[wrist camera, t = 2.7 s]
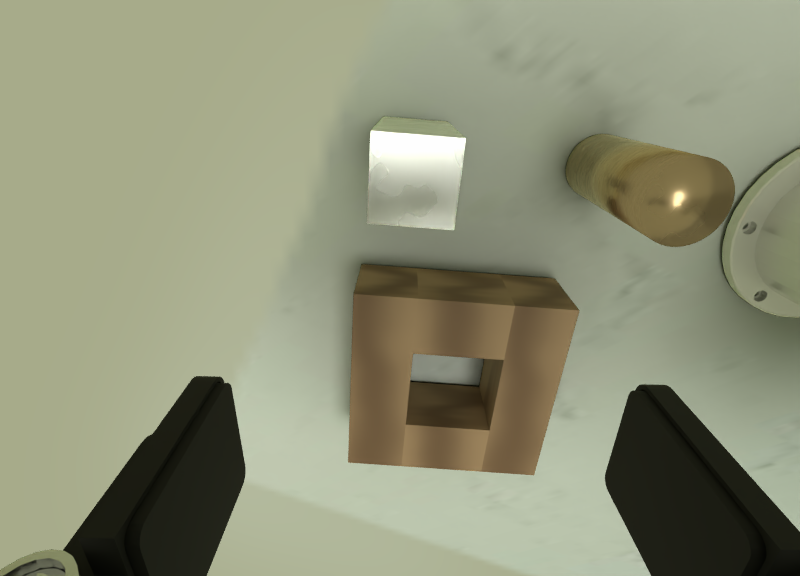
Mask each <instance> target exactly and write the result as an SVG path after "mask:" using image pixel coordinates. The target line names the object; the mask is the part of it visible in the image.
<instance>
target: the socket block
mask: <svg viewBox="0 0 800 576" xmlns="http://www.w3.org/2000/svg"><path fill="white" fill-rule="evenodd" d="M578 314H579V310H578V308H577V307H576V306H575V304H574V303H573V302H572V300H571V299H570V298H569V296H568V295H567V294H566V293H565V291H564V290H563V289H562V287H561V286H560V285H559V283H558V282H557V281H556V279H554V278H541V277H527V276H514V275H500V274H487V273H474V272H460V271H447V270H434V269H420V268H407V267H394V266H380V265H367V264H361V268H360V272H359V276H358V279H357V283H356V287H355V290H354V296H353V327H352V359H351V390H350V422H349V453H348V462H350V463H364V464H379V465H394V466H408V467H423V468H437V469H452V470H466V471H481V472H496V473H510V474H525V475H534V473H535V470H536V466H537V462H538V459H539V455H540V451H541V448H542V444H543V441H544V437H545V433H546V430H547V426H548V422H549V419H550V415H551V412H552V408H553V404H554V401H555V397H556V394H557V390H558V386H559V383H560V379H561V375H562V372H563V368H564V365H565V361H566V357H567V354H568V350H569V346H570V343H571V339H572V336H573V332H574V328H575V325H576V321H577V317H578ZM413 354H426V355H440V356H454V357H468V358H482V359H484V364H483V369H482V375H481V380H480V386H479V387H474V386H460V385H446V384H432V383H418V382H410V377H411V367H412V357H413Z"/></svg>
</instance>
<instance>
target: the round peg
mask: <svg viewBox="0 0 800 576" xmlns="http://www.w3.org/2000/svg"><path fill="white" fill-rule="evenodd" d="M566 177H567V181H568V183H569V185H570V187H571V188H572V189H573V190H574V191H575V192H576V193H578V194H579V195H581V196H583V197H584V198H586V199H587V200H589V201H591V202H592V203H594V204H595V205H597V206H599V207H600V208H602V209H603V210H605V211H607V212H608V213H610V214H611V215H613V216H615V217H616V218H618V219H619V220H621V221H623V222H624V223H626V224H627V225H629V226H631V227H632V228H634V229H636V230H637V231H639V232H640V233H642V234H644V235H645V236H647V237H648V238H650V239H652V240H653V241H655V242H657V243H659V244H661V245H665V246H670V247H679V246H686V245H690V244H693V243H696V242H698V241H700V240H702V239H704V238H705V237H707V236H708V235H710V234H711V233H712V232H714V231H715V230H716V229H717V228H718V227H719V226H720V225H721V224H722V222H723V221H724V220H725V218H726V217H727V215H728V213H729V211H730V209H731V207H732V204H733V201H734V195H735V186H734V181H733V177H732V175H731V173H730V172H729V170H728V169H727V168H726V167H725V166H724V165H723V164H722V163H721V162H719V161H717V160H715V159H712V158H709V157H704V156H700V155H696V154H691V153H687V152H683V151H678V150H674V149H670V148H665V147H661V146H657V145H652V144H648V143H644V142H639V141H635V140H631V139H626V138H622V137H618V136H613V135H609V134H597V135H593V136H591V137H588V138H586V139H585V140H583V141H582V142H580V143H579V144H578V145H577V146H576V147H575V148H574V150H573V151H572V153H571V154H570V156H569V159H568V161H567V165H566Z"/></svg>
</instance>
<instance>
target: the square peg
mask: <svg viewBox="0 0 800 576" xmlns="http://www.w3.org/2000/svg"><path fill="white" fill-rule="evenodd" d="M465 143H466V138H465V137H464V136H463V135H462V134H461V133H460V132H459V131H457V130H456V129H455V128H454V127H453V126H452V125H451V124H450V123H448V122H447V121H436V120H423V119H411V118H398V117H385V116H383V117H382V118H381V120H380V121H379V122H378V123H377V124H376V125H375V126H374V127H373V129H372V130H371V132H370V155H369V179H368V203H367V224H378V225H391V226H404V227H417V228H430V229H443V230H454V228H455V220H456V213H457V205H458V197H459V190H460V182H461V174H462V166H463V159H464V151H465Z"/></svg>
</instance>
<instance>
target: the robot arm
mask: <svg viewBox="0 0 800 576" xmlns="http://www.w3.org/2000/svg"><path fill="white" fill-rule="evenodd" d="M722 262H723V267H724V272H725V276H726V278H727V280H728V282H729V284H730V286H731V287H732V289H733V290H734V291H735V292H736V293H737V294H738V295H739V297H741V298H742V299H744V300H745V301H746V302H748V303H749V304H751V305H752V306H754V307H756V308H758V309H760V310H762V311H763V312H765V313H769V314H773V315H776V316H780V317H794V318H799V317H800V149H798V150H796V151H794V152H793V153H791V154H790V155H788V156H787V157H785V158H784V159H782V160H780V161H779V162H777V163H776V164H775V165H774V166H773V167H771V168H770V169H769V170H768V171H767V172H766V173H764V174H763V175H762V176H761V177H760V178H759V179H758V180H757V181H756V182H755V184H754V185H753V186H752V187H751V188H750V189H749V190H748V191H747V193H746V194H745V195H744V197H743V198H742V200H741V201H740V203H739V204H738V206H737V208H736V209H735V211H734V213H733V215H732V217H731V220H730V222H729V224H728V226H727V229H726V233H725V237H724V241H723V250H722ZM244 479H245V462H244V457H243V451H242V445H241V439H240V434H239V428H238V422H237V416H236V411H235V405H234V399H233V393H232V388H231V385H230V384H229V383H224V380H223V379H222V377H208V376H203V377H202V376H196V377H194V378H193V379H192V380H191V382H190V383H189V384H188V386H187V387H186V388H185V390H184V391H183V393H182V394H181V395H180V397H179V398H178V400H177V401H176V402H175V404H174V405H173V407H172V408H171V409H170V411H169V412H168V414H167V415H166V416H165V418H164V419H163V420H162V422H161V423H160V425H159V426H158V427H157V429H156V430H155V432H154V433H153V434H152V435H150V436H148V437H147V438H146V439H145V440H144V441H143V442H142V443H141V444H140V446H139V447H138V449H137V450H136V451H135V453H134V454H133V455H132V457H131V458H130V459H129V461H128V462H127V464H126V465H125V466H124V468H123V469H122V470H121V472H120V473H119V475H118V476H117V477H116V478H115V480H114V481H113V483H112V484H111V485H110V487H109V488H108V490H107V491H106V492H105V494H104V495H103V496H102V498H101V499H100V500H99V502H98V503H97V504H96V506H95V507H94V509H93V510H92V511H91V513H90V514H89V515H88V517H87V518H86V519H85V521H84V522H83V524H82V525H81V526H80V528H79V529H78V530H77V532H76V533H75V535H74V536H73V537H72V539H71V540H70V542H69V543H68V544H67V546H66V547H65V548H64V550H63V551H61V550H52V549H51V550H45V551H40V552H35V553H33V554H30V555H28V556H25V557H22V558H20V559H18V560H16V561H15V562H13V563H11V564H9V565H8V566H6V567H4V568H2V569H1V570H0V576H207V573H208V571H209V568H210V566H211V563H212V561H213V558H214V556H215V553H216V551H217V548H218V546H219V543H220V541H221V538H222V536H223V533H224V531H225V528H226V526H227V523H228V521H229V518H230V516H231V513H232V511H233V508H234V506H235V503H236V501H237V498H238V496H239V493H240V491H241V488H242V486H243V483H244ZM605 482H606V486H607V489H608V492H609V494H610V496H611V498H612V500H613V502H614V503H615V505H616V507H617V509H618V511H619V513H620V515H621V517H622V519H623V521H624V523H625V525H626V527H627V529H628V531H629V533H630V535H631V537H632V539H633V541H634V543H635V545H636V547H637V548H638V550H639V552H640V554H641V556H642V558H643V560H644V562H645V564H646V566H647V568H648V570H649V572H650V574H651V576H800V532H799V530H798V529H797V528H796V527H795V526H794V525H793V524H792V523H791V522H790V520H789V519H788V518H787V517H786V516H785V515H784V514H783V513H782V511H781V510H780V509H779V508H778V507H777V506H776V505H775V504H774V503H773V501H772V500H771V499H770V498H769V497H768V496H767V495H766V494H765V492H764V491H763V490H762V489H761V488H760V487H759V486H758V485H757V484H756V482H755V481H754V480H753V479H752V478H751V477H750V476H749V475H748V474H747V472H746V471H745V470H744V469H743V468H742V467H741V466H740V465H739V463H738V462H737V461H736V460H735V459H734V458H733V457H732V456H731V455H730V453H729V452H728V451H727V450H726V449H725V448H724V447H723V446H722V444H721V443H720V442H719V441H718V440H717V439H716V438H715V437H714V436H713V434H712V433H711V432H710V431H709V430H708V429H707V428H706V427H705V425H704V424H703V423H702V422H701V421H700V420H699V419H698V418H697V417H696V415H695V414H694V413H693V412H692V411H691V410H690V409H689V408H688V406H687V405H686V404H685V403H684V402H683V401H682V400H681V399H680V398H679V396H678V395H677V394H676V393H675V392H674V391H673V390H672V389H671V388H670V387H669V386H666V385H639V386H638V387H637V388H636V390H635V391H631V392H630V394H629V396H628V399H627V403H626V406H625V409H624V413H623V416H622V420H621V423H620V426H619V430H618V433H617V436H616V440H615V443H614V447H613V450H612V453H611V457H610V460H609V463H608V467H607V470H606V474H605Z"/></svg>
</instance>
